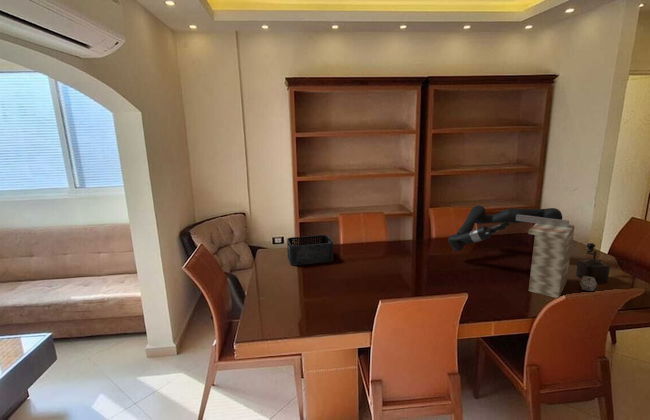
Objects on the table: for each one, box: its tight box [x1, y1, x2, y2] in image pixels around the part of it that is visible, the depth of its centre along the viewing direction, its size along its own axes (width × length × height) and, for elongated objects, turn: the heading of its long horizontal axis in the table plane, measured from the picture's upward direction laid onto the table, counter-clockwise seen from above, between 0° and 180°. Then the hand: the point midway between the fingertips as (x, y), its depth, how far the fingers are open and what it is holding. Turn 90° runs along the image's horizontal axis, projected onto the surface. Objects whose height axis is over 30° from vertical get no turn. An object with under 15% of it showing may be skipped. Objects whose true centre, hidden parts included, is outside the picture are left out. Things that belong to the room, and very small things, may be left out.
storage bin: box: [286, 234, 334, 266], centre depth 230 cm, size 29×19×13 cm
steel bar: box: [516, 214, 570, 228], centre depth 185 cm, size 24×3×3 cm, turn 48°
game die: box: [577, 274, 600, 292], centre depth 177 cm, size 9×8×10 cm
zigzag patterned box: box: [527, 223, 576, 299], centre depth 181 cm, size 16×24×32 cm, turn 138°
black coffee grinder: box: [575, 242, 611, 284], centre depth 191 cm, size 16×11×18 cm
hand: (506, 224), depth 197 cm, fingers open, 8 cm apart
